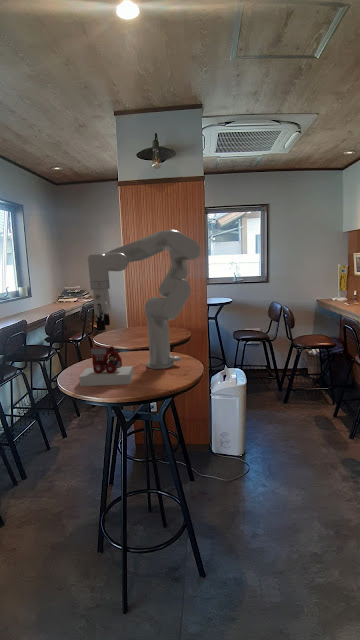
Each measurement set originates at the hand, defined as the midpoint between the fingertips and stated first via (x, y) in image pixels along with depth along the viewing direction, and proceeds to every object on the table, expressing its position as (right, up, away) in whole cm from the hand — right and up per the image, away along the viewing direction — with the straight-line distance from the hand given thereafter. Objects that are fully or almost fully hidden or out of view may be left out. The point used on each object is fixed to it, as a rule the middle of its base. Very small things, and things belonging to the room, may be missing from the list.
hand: (103, 327), depth 150 cm
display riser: (+1, -22, +3) cm, 22 cm away
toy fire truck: (+1, -18, +3) cm, 19 cm away
